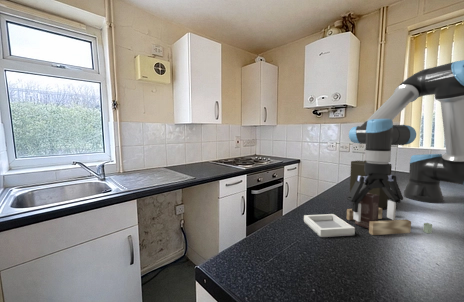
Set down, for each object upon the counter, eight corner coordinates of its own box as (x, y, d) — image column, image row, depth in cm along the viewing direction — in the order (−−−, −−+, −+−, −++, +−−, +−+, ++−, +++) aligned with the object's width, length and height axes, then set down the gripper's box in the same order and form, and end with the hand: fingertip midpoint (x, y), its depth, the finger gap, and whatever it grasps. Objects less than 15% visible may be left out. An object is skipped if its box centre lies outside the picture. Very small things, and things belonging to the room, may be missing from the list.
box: (378, 227, 73) (380, 195, 72) (370, 230, 71) (372, 196, 70) (361, 221, 79) (362, 190, 78) (353, 223, 77) (355, 192, 76)
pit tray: (333, 220, 80) (333, 213, 80) (354, 235, 68) (354, 227, 68) (303, 221, 79) (304, 215, 78) (320, 237, 67) (320, 229, 67)
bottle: (381, 210, 90) (385, 154, 88) (346, 200, 104) (349, 151, 102) (391, 207, 93) (394, 153, 91) (356, 197, 108) (358, 150, 105)
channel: (378, 217, 83) (379, 207, 82) (410, 232, 69) (411, 221, 69) (346, 218, 81) (346, 209, 81) (372, 235, 68) (373, 223, 68)
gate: (391, 215, 84) (391, 208, 84) (431, 233, 69) (432, 224, 69) (388, 215, 84) (388, 208, 84) (427, 233, 69) (428, 224, 69)
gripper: (399, 160, 78) (395, 213, 80) (338, 161, 76) (335, 216, 77) (418, 163, 71) (414, 222, 73) (351, 164, 68) (349, 225, 70)
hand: (373, 219), depth 75 cm, fingers open, 13 cm apart
